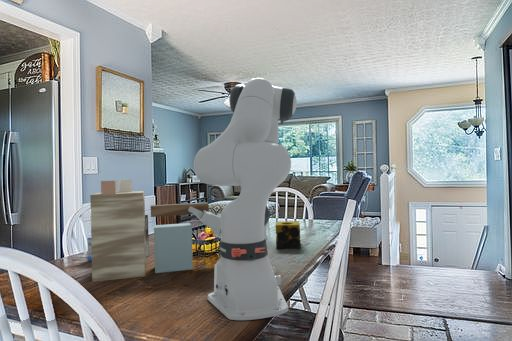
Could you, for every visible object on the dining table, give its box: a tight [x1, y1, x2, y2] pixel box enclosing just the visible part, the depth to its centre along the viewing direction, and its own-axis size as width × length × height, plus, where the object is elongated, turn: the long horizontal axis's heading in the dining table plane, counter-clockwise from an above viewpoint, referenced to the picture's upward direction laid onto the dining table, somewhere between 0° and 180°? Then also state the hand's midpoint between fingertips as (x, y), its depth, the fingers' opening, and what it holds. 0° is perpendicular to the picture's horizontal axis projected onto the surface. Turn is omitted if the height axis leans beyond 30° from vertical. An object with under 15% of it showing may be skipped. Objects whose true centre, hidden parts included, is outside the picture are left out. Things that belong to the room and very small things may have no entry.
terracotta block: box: [100, 180, 118, 194], centre depth 107 cm, size 4×4×4 cm
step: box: [153, 222, 194, 274], centre depth 116 cm, size 8×12×14 cm, turn 106°
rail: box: [150, 201, 210, 218], centre depth 117 cm, size 3×19×4 cm, turn 106°
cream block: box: [117, 179, 133, 192], centre depth 116 cm, size 4×4×4 cm
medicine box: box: [87, 236, 92, 262], centre depth 130 cm, size 8×4×9 cm, turn 62°
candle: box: [275, 220, 301, 250], centre depth 146 cm, size 10×10×10 cm
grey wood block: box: [89, 190, 147, 283], centre depth 112 cm, size 13×15×26 cm
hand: (188, 207), depth 118 cm, fingers closed on rail, 3 cm apart
